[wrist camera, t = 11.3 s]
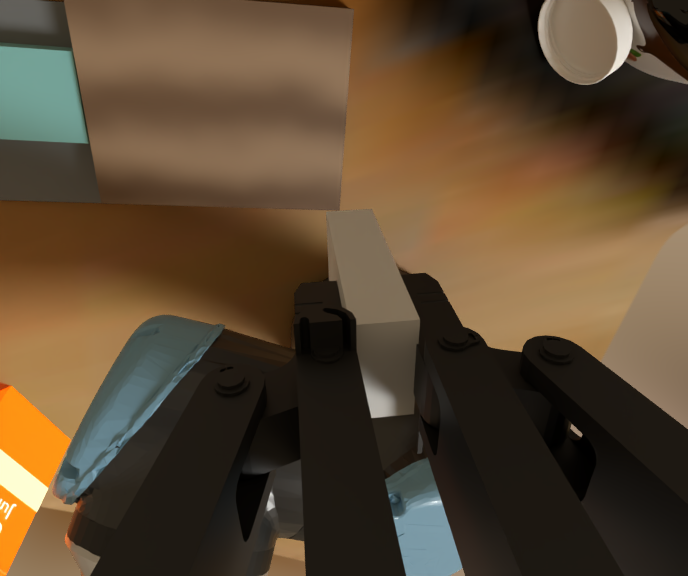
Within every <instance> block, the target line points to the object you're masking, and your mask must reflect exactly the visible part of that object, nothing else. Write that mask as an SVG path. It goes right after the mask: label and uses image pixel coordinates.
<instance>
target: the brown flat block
mask: <svg viewBox="0 0 688 576" xmlns="http://www.w3.org/2000/svg"><path fill="white" fill-rule="evenodd" d="M64 4H65V10H66V15H67V20H68V26H69V31H70V37H71V42H72V48H73V53H74V58H75V64H76V69H77V75H78V80H79V86H80V91H81V96H82V102H83V107H84V113H85V118H86V124H87V129H88V134H89V140H90V145H91V151H92V156H93V161H94V167H95V172H96V178H97V183H98V189H99V194H100V199H101V203H105V204H138V205H172V206H205V207H239V208H272V209H306V210H339V209H340V195H341V181H342V167H343V153H344V139H345V126H346V112H347V98H348V84H349V70H350V56H351V42H352V28H353V14H354V9H351V8H341V7H329V6H317V5H304V4H292V3H280V2H268V1H256V0H64Z"/></svg>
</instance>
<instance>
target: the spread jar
mask: <svg viewBox="0 0 688 576" xmlns="http://www.w3.org/2000/svg"><path fill="white" fill-rule="evenodd" d="M538 37H539V41H540V45H541V48H542V51H543V53H544V55H545V57H546V59H547V61H548V62H549V64H550V65H551V66H552V68H553V69H554V70H555V71H556V72H557V73H558V74H559V75H560V76H562V77H563V78H565V79H566V80H568V81H571V82H573V83H576V84H581V85H590V84H593V83H597V82H599V81H600V80H602V79H604V78H605V77H607V76H608V75H609V74H611V73H612V72H614V71H615V70H616V69H618V68H619V67H620V66H621V65H622V64H623V62H624V61H625V62H627V63H628V64H630V65H631V66H633V67H635V68H637V69H639V70H641V71H643V72H645V73H647V74H650V75H653V76H656V77H659V78H663V79H667V80H671V81H676V82H680V83H685V84H688V0H545V2H544V3H543V5H542V8H541V10H540V13H539V18H538Z"/></svg>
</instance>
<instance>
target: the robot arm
mask: <svg viewBox="0 0 688 576" xmlns="http://www.w3.org/2000/svg"><path fill="white" fill-rule="evenodd" d="M326 220H327V244H328V267H329V278H328V279H326V280H324V281H323V282H312V283H301V284H300V286H299V287H298V289H297V290H296V291H295V293H294V299H295V316H294V318H293V322H292V327H291V348H288V347H284V346H280V345H277V344H274V343H270V342H267V341H264V340H260V339H257V338H254V337H250V336H247V335H244V334H241V333H237V332H234V331H231V330H227V329H224V328H225V325H222V324H217V325H211V324H207V323H203V322H199V321H194V320H190V319H186V318H182V317H178V316H173V315H159V316H155V317H152V318H150V319H148V320H147V321H145V322H144V323H142V324H141V325H140V326H139V327H138V328H137V329H136V330H135V332H134V333H133V334H132V335H131V337H130V338H129V340H128V341H127V343H126V344H125V346H124V348H123V349H122V351H121V352H120V354H119V356H118V357H117V359H116V360H115V362H114V364H113V365H112V367H111V369H110V371H109V372H108V374H107V376H106V378H105V379H104V381H103V383H102V385H101V386H100V388H99V390H98V392H97V394H96V395H95V397H94V399H93V401H92V403H91V405H90V406H89V408H88V410H87V412H86V414H85V416H84V418H83V420H82V422H81V424H80V426H79V428H78V430H77V432H76V434H75V436H74V438H73V440H72V442H71V444H70V446H69V448H68V451H67V454H66V457H65V459H64V461H63V464H62V466H61V469H60V470H59V472H58V473H57V475H56V477H55V480H54V483H53V494H54V495H55V496H56V497H57V498H59V499H61V500H62V501H63V503H64V504H70V505H72V504H73V503H74V502H75V503H77V505H76V508H75V511H74V514H73V517H72V519H71V522H70V525H69V528H68V531H67V533H66V536H65V543H66V545H67V547H68V549H69V551H70V552H71V554H72V556H73V558H74V560H75V561H76V563H77V565H78V567H79V569H80V571H81V576H267V574H268V571H269V568H270V564H271V560H272V555H273V551H274V547H275V543H276V540H277V538H287V539H294V540H300V541H304V544H305V566H306V576H451V575H452V574H454V573H456V572H457V571H458V570H460V569H462V568H463V570H464V573H465V576H688V429H686V428H685V427H684V426H683V425H681V424H680V423H679V422H678V421H676V420H675V419H674V418H672V417H671V416H669V415H668V414H667V413H666V412H664V411H663V410H662V409H661V408H659V407H658V406H657V405H656V404H654V403H653V402H652V401H650V400H649V399H648V398H646V397H645V396H644V395H642V394H641V393H640V392H638V391H637V390H636V389H635V388H633V387H632V386H631V385H630V384H628V383H627V382H626V381H624V380H623V379H622V378H621V377H619V376H618V375H617V374H615V373H614V372H613V371H611V370H610V369H609V368H607V367H606V366H605V365H603V364H602V363H601V362H600V361H598V360H597V359H596V358H595V357H593V356H592V355H591V354H589V353H588V352H587V351H585V350H584V349H583V348H582V347H580V346H578V345H577V344H575V343H573V342H572V341H569V340H566V339H563V338H560V337H555V336H537V337H533V338H531V339H529V340H527V341H526V343H525V344H524V346H523V350H522V352H516V351H507V350H500V349H495V348H491V347H488V346H487V344H486V342H485V341H484V339H483V338H482V337H481V336H480V335H479V334H478V333H476V332H475V331H473V330H471V329H469V328H465V327H463V326H462V324H461V322H460V320H459V318H458V317H457V315H456V313H455V311H454V309H453V308H452V306H451V304H450V302H448V299H447V297H446V295H445V293H443V290H442V288H441V286H440V284H439V283H438V281H437V280H435V279H434V278H432V277H431V276H429V275H428V274H426V273H418V274H408V273H405V272H403V271H400V270H398V268H397V266H396V263H395V261H394V259H393V256H392V254H391V252H390V250H389V247H388V245H387V243H386V240H385V238H384V236H383V234H382V231H381V229H380V227H379V224H378V222H377V220H376V218H375V215H374V213H373V211H372V209H363V210H346V211H330V212H326ZM571 424H573V425H574V426H575V427H576V428H577V429H578V430H579V431H580V432H581V433H582V434H583V435H582V437H579V436H578V435H577V434H575V433H574V432H573V431H572V430H571V429H570V427H571Z"/></svg>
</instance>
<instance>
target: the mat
mask: <svg viewBox="0 0 688 576" xmlns="http://www.w3.org/2000/svg"><path fill="white" fill-rule="evenodd" d="M0 42H1V43H15V44H28V45H42V46H55V47H69V48H72V42H71V37H70V31H69V26H68V20H67V15H66V10H65V4H64V2H56V1H43V0H0ZM0 200H13V201H47V202H80V203H101V199H100V194H99V189H98V183H97V178H96V172H95V167H94V161H93V156H92V151H91V145H90V143H89V144H86V143H67V142H47V141H27V140H7V139H0Z"/></svg>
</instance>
